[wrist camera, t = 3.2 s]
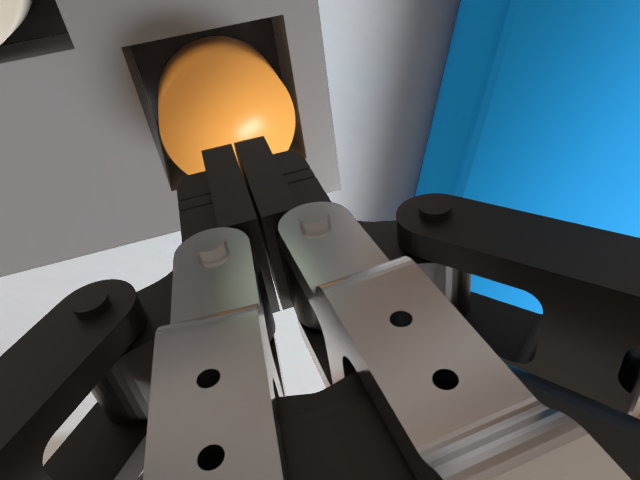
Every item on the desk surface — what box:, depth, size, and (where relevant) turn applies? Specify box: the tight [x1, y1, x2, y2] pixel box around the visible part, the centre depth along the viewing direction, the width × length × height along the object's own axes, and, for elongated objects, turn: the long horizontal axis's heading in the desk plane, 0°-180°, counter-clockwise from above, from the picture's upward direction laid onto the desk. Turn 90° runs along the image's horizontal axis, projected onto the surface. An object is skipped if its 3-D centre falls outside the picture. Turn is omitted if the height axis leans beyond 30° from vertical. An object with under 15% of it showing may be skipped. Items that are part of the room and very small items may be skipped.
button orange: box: [158, 36, 295, 175], centre depth 16 cm, size 4×4×2 cm
